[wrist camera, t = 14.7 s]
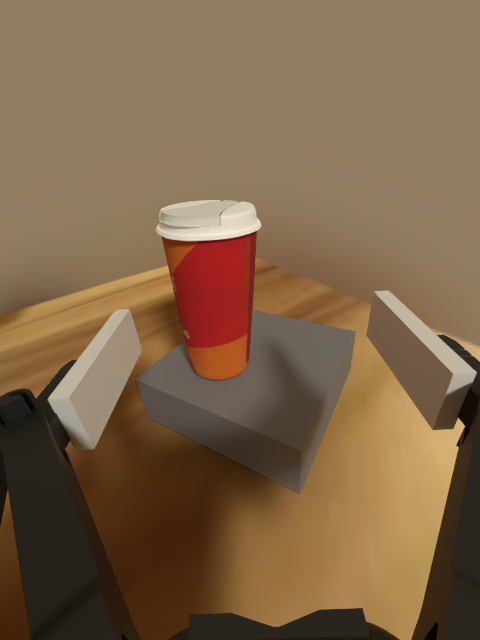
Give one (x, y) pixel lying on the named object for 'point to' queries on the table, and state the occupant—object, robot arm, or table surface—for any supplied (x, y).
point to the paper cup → (213, 280)
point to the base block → (258, 397)
